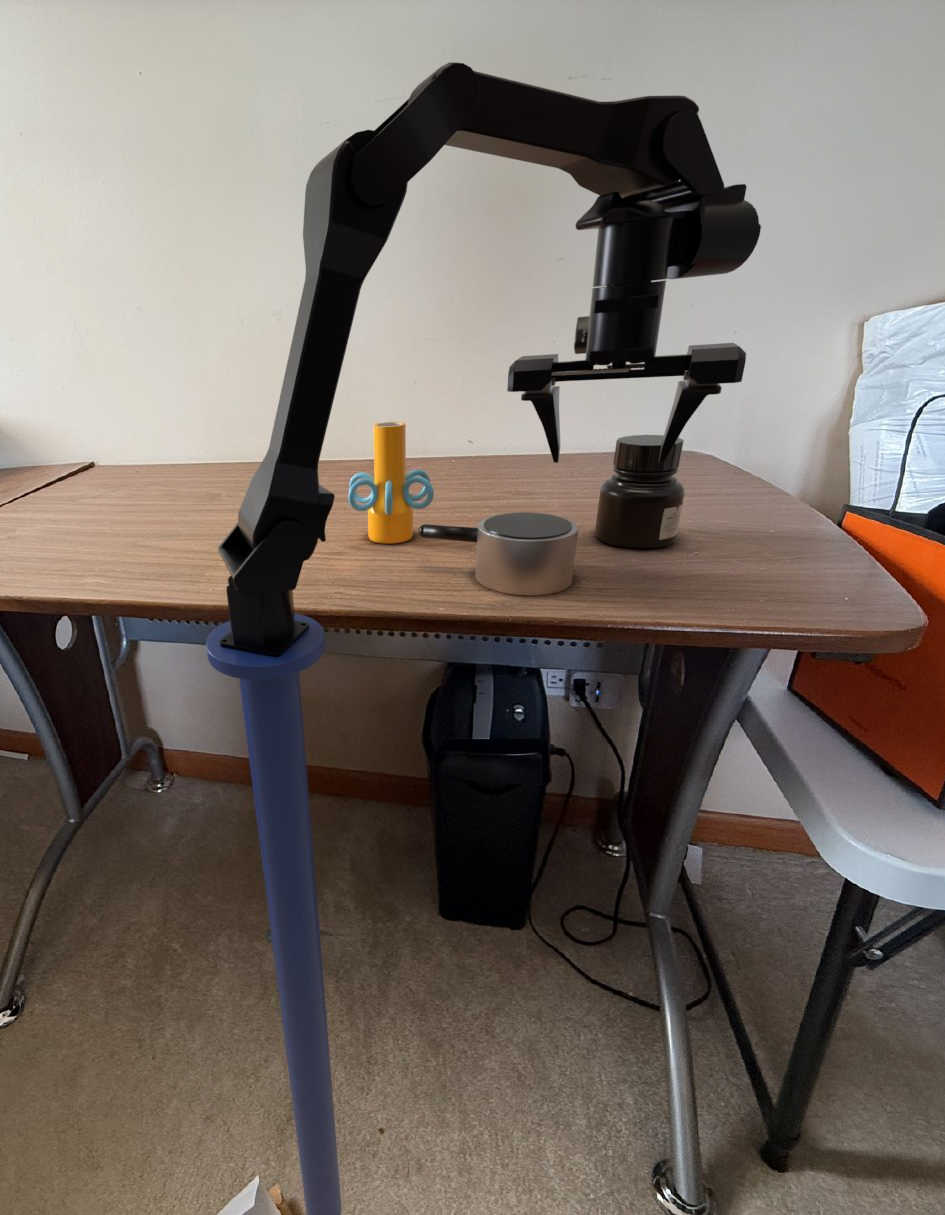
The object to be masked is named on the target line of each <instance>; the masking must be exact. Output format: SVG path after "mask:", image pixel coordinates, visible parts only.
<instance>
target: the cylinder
mask: <svg viewBox="0 0 945 1215" xmlns="http://www.w3.org/2000/svg"><path fill="white" fill-rule="evenodd" d="M406 425H407V424H406V422H404V421H386V422H385V421H384V422H383V421H382V422H378V423H374V424H373V466H374V467H373V468H374V471H373V472H374V475H373V476H374V477H373V476H372V475H371V474H370V473H368V472H364V471H363V472H357V473H355V474H354V475H352V477H351V478H350V480H349V484H348V486H349V487H348V488H349V490H348V494H347V499H348V503H349V505H350V507H351V508H352V509H353V510H355V511H356V512H366V511H367V533H368V534H367V536H368V539H369V540H370V541H372V542H375V543H377V544H378V543H379V544H384V545H385V544H386V545H387V544H388V545H389V544H390V545H393V544H399V543H404V542H407V541H409V540H411V539H412V538H413V536H414V509H415V510H422V509H426V508H428V507H429V506H430V505H431V503H432V502H433V500H434V497H435V495H434V494H435V492H434V487H433V485H432V483H431V479H430V476H429V473H427V472H426V471H425V470H423V469H419V468H417V469H413V470H411V471H409V472H408V473H407V474H406V469H407V468H406V465H407V463H406V462H407V461H406V460H407V459H406V458H407V454H406V450H407V449H406V446H407V444H406V443H407V442H406V441H407V439H406V437H407V433H406V432H407V430H406V429H407V428H406V427H407V426H406ZM416 483H417V484H421V485H423V488H422V490H421V491H420V492H419V493H417V494H416V495H414V494H411V493H410V488H411V485H413V484H416ZM361 486H367V487H369V488H370V490H371V491H370V494H369V495H368V496H367V497H362V496H361V495H359V494H358V493H357V491H358V490H357V489H358V488H360V487H361ZM425 496H426V498H425ZM423 498H425V500H423V501H422V502H418V501H420V500H422V499H423ZM357 502H358V503H359V504H358V503H357ZM361 504H362V505H361Z"/></svg>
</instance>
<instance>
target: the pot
mask: <svg viewBox="0 0 945 1215" xmlns="http://www.w3.org/2000/svg"><path fill="white" fill-rule="evenodd" d="M417 531H418V532H417V533H418V536H419V537H420V538H422V539H429V540H443V541H454V542H468V543H476V555H475V556H476V558H475V580H476V581H477V582H478V583H479V584H480V585H482V586H483V587H484V588H487V589H489V590H492V591H495V592H498V593H501V594H502V593H503V594H507V595H514V596H527V597H528V596H530V597H531V596H545V595H552V594H557V593H559V592H562V591H564V590H567V588H570V586H571V585H572V583H573V575H574V566H575V558H576V550H577V542H578V535H579V526H578V524H577V523H576V522H575V521H574V520H571V519H569V518H567V517H564V516H561V515H555V514H552V513H551V514H550V513H543V512H533V511H532V512H526V511H524V512H522V511H518V512H505V513H499V514H494V515H490V516H488V517H484V518H483V519H481V520H480V521H479V522H478V524H477V527H472V526H471V527H468V526H457V525H456V526H455V525H441V524H430V523H429V524H427V523H424V524H422V525H420V526H419V527H418V530H417Z"/></svg>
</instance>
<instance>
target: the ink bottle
mask: <svg viewBox="0 0 945 1215" xmlns="http://www.w3.org/2000/svg"><path fill="white" fill-rule="evenodd" d="M663 437H664V434H663V435H662V434H634V435H626V436H621V437H618V438H617V440H616V442H615V443H616V444H615V450H614V456H613V464H612V465H613V467H612V471H613V473H614V474H612V475H611V476H610V478H608V479H606V480H605V481H604V482H602V484H601V486H600V491H599V497H598V505H597V513H596V520H595V527H594V535H595V537H596V538H598V539H599V540H600V541H601V542H603V543H606V544H609V545H611V546H616V547H622V548H630V549H631V548H632V549H656V548H662V547H667V546H669V545H671V544H673V543H674V542H675V541H676V539H677V534H678V531H679V525H680V520H681V515H682V509H683V504H684V499H685V492H686V490H685V487H684V485H683V483H681V482H680V481H678V478H677V477H676V476H675V475H676V474H678V472H679V468H680V463H681V457H682V451H683V447H684V446H683V445H684V439H683V438H680V437H678V439H677V441H676V442H675V444H674V446H673V448H672V449H671V451H670V453H669V455H668V457H667V458H666V460H665V462H664V463H659V456H660V449H661V444H662V440H663Z"/></svg>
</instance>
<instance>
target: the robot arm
mask: <svg viewBox="0 0 945 1215" xmlns="http://www.w3.org/2000/svg"><path fill="white" fill-rule="evenodd" d="M699 111H700V107H699V105H698V103H696V101H694V100H693V99H691V98H690V97H688V96H686V95H646V96H645V95H644V96H639V97H633V98H628V99H621V100H613V101H598V100H594V99H590V98H586V97H582V96H579V95H578V96H577V95H574V94H570V93H566V92H561V91H557V90H553V89H549V88H546V87H542V86H538V85H533V84H530V83H529V84H528V83H525V82H520V81H516V80H513V79H509V78H504V77H500V76H496V75H492V74H488V73H485V72H481V71H476V70H473V68H472V67H471V66H469V65H467V64H465V63H464V62H448V63H445V64H444V65H441V66H440V67H438V69H436V70H435V71H433V72H432V73H431V74H430V75H429V76H428V77H426V78H425V79H424V80H422V81H421V82H420V83H419V84H418V85H417V86H416V87H415V88H414V89H413V90H412V92H411V93H410V96H409V97H408V99H406V100H405V102H403V103H402V104H401V105H400V106H399V107H398V108H397V109H396V110H395V111H393V113H391V114H390V115H389V116H388V117H387V118H386V119H385V120H384V121H382V123H381V124H380V125H379V126H378V127H376V128H375V129H374V130H373V129H364V130H360V131H357V132H354V133H353V134H352V135H350V136H348V138H346V139H345V140H343V141H342V142H340V144H338V146H336V147H335V148H334V149H332V150H331V151H330V152H329V153H328V154H326V155H325V157H323V158H322V159H321V160H319V162H317V163H316V164H315V166H314V167H313V168H312V170H311V171H310V174H309V176H308V179H307V182H306V184H305V191H304V206H303V207H304V208H303V209H304V210H303V227H302V240H303V242H302V243H303V252H304V253H303V254H304V264H305V278H304V283H303V287H302V293H301V297H300V301H299V306H298V311H297V315H296V320H295V321H296V322H295V324H294V329H293V333H292V334H293V335H292V339H291V345H290V348H289V352H288V358H287V362H286V366H285V371H284V377H283V381H282V386H281V391H280V395H279V400H278V404H277V409H276V412H275V417H274V422H273V427H272V432H271V436H270V441H269V445H268V449H267V451H266V454H265V456H264V458H263V459H262V461H261V462H260V465H259V466H258V468H257V469H256V471H255V472H254V474H253V476H252V477H251V480H250V482H249V484H248V486H247V490H246V493H245V495H244V497H243V499H242V502H241V505H240V507H239V511H238V514H237V523H236V524H235V525H234V527H233V528H232V530H231V531H230V532H229V533H228V534H227V536H226V537H225V538H224V539H223V541H222V542H221V543H220V544H219V546H218V547H217V552H218V553H219V555H220V557H221V559H222V561H223V564H224V565H225V567H226V569H227V570H228V572H229V574H230V575H229V577H228V578H227V586H226V587H225V590H226V598H227V606H228V613H229V621H230V623H231V632H230V633H228V634H227V635H226V636H225V637H223V638H222V639H221V640H220V641H219V644H220V647H223V648H229V649H234V650H239V651H244V652H250V653H255V654H260V655H265V656H271V657H280V656H282V655H283V654H284V653H285V652H286V651H287V650H288V649H289V648H290V647H291V646H292V645H293V644H294V643H295V642H296V641H297V640H298V639H299V638H300V637H301V636H302V635H303V634H304V633H305V632H306V631H307V630H308V629H309V623H306V622H300V621H294V617H295V616H294V613H295V605H294V604H295V603H294V593H293V591H294V590H296V588H297V586H298V582H299V578H300V575H301V571H302V569H303V564H304V562H305V561H308V560H310V559H311V557H312V556H313V554H314V553H315V550H316V548H317V545H318V542H319V541H321V542H322V543H325V542H326V541H327V538H326V524H327V520H328V518H329V515H330V514H331V513H330V512H331V510H332V508H333V506H334V501H335V497H336V496H335V494H334V493H333V492H331V491H330V490H329V489H327V488H326V487H324V486H322V485H321V484H320V479H319V461H320V457H321V453H322V449H323V446H324V441H325V437H326V433H327V428H328V425H329V422H330V417H331V413H332V408H333V404H334V400H335V396H336V392H337V388H338V383H339V379H340V375H341V371H342V368H343V363H344V360H345V354H346V351H347V347H348V343H349V339H350V334H351V331H352V326H353V322H354V318H355V314H356V310H357V306H358V302H359V297H360V293H361V289H362V286H363V284H364V282H365V280H366V277H367V276H368V274H369V272H370V271H371V269H372V268H373V266H374V264H375V263H376V261H377V259H378V257H379V255H380V253H381V252H382V251H383V249H384V247H385V245H386V243H387V241H388V240H389V238H390V235H391V232H392V230H393V228H394V226H395V222H396V221H397V217H398V216H399V212H400V210H401V208H402V206H403V204H404V201H405V198H406V195H407V192H408V186H409V185H408V183H409V182H410V181H411V180H412V179H413V178H414V177H415V176H416V175H418V173H419V172H420V171H422V169H423V168H425V167H426V166H427V165H428V164H429V163H430V162H431V161H432V160H433V159H434V158H435V157H436V155H437V154H438V153H439V152H440V151H441V149H442V148H443V147H444V146H447V147H451V148H458V149H462V150H467V151H472V152H477V153H482V154H485V155H492V156H497V157H500V158H501V157H502V158H505V159H506V158H507V159H510V160H517V161H520V162H526V163H530V164H535V165H541V166H545V167H550V168H554V169H558V170H561V171H562V172H565V173H567V174H569V175H570V176H571V177H572V179H573V180H574V181H575V182H576V184H577V185H578V186H579V187H580V188H582V189H585V190H587V191H589V192H591V193H594V194H596V195H597V198H596V199H595V201H594V203H593V204H592V205H591V207H590V208H589V209H588V210H587V211H585V213H584V214H582V216H581V217H580V218H579V219H578V220H577V221H576V222H575V229H576V230H577V231H586V230H587V231H589V230H598V231H597V241H596V251H595V258H594V259H595V260H594V261H595V262H594V269H593V280H592V290H591V300H590V308H589V316H588V315H587V316H578V317H577V320H576V326H575V332H574V342H573V350H574V351H573V352H574V354H575V355H582V354H585V358H584V360H583V359H581V360H565V361H563V360H562V361H559V353H551V354H535V355H522V356H520V357H519V358H517V359H515V360H514V361H513V363H511V364H510V366H509V369H508V373H507V392H511V393H521V392H523V393H522V394H521V395H520V396H521V397H520V400H521V401H523V402H531V403H532V405H533V408H534V410H535V412H536V414H537V416H538V419H539V420H540V423H541V425H542V428H543V431H544V434H545V437H546V441H547V444H548V447H549V451H550V454H551V458H552V461H553V463H555V464H556V463H557V464H558V463H559V461H560V455H561V454H560V453H561V425H560V424H561V421H560V420H561V419H560V386H559V385H557V384H558V383H559V382H578V381H581V382H582V381H600V380H621V379H642V378H643V379H644V378H663V377H664V378H665V377H667V378H668V377H681V378H682V380H679V381H678V383H677V386H676V391H675V396H674V399H673V403H672V406H671V410H670V413H669V416H668V420H667V424H666V427H665V430H664V434H663V435H664V437H663V440H662V444H661V449H660V456H659V463H664V462H665V460H666V458H667V457H668V455H669V453H670V451H671V449H672V448H673V446H674V444H675V442H676V441H677V439H678V438H680V435H681V434H682V432H683V430H684V428H685V426H686V425H687V423H688V422H689V420H690V419H691V418H692V416H693V415H694V414H695V413H696V411H697V410H698V408H699V407H700V405H701V404H702V403H703V401H704V400H706V397H707V396H710V395H720V394H721V393H722V389H723V388H722V386H721V385H720V384H736V383H742V381H743V377H744V371H745V366H746V362H747V360H746V359H747V352H746V351H745V350H744V349H743V348H742V347H741V346H740V345H738V344H736V343H735V342H723V343H707V344H691V345H688V348H687V352H686V353H685V354H684V353H683V354H669V355H667V354H665V355H657V349H658V348H657V347H658V340H659V334H660V333H659V332H660V327H661V319H662V312H663V307H664V306H663V305H664V297H665V291H666V284H667V279H668V280H678V279H688V278H697V277H705V276H715V275H725V274H729V273H732V272H734V271H736V270H737V269H738V268H740V267H741V266H742V265H743V264H745V262H747V261H748V259H749V258H750V257H751V255H752V254H753V252H754V250H755V248H756V246H757V245H758V242H759V238H760V235H761V230H762V225H761V224H760V219H759V214H758V212H757V209H756V208H755V207H754V205H753V203H751V202H749V201H747V200H745V197H746V192H747V188H748V187H747V185H746V183H741V184H740V183H739V184H732V185H728V186H725V183H724V180H723V177H722V174H721V172H720V170H719V166H718V164H717V161H716V159H715V156H714V152H713V151H712V148H711V145H710V142H709V140H708V139H709V138H708V136H707V134H706V132H705V129H704V128H705V127H704V126H703V122H702V121H701V119H700V116H699ZM627 363H629V364H627ZM595 366H606V367H605V368H595Z"/></svg>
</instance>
